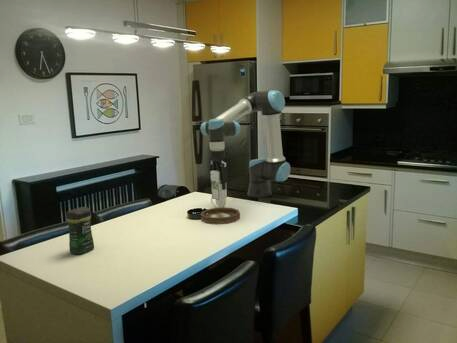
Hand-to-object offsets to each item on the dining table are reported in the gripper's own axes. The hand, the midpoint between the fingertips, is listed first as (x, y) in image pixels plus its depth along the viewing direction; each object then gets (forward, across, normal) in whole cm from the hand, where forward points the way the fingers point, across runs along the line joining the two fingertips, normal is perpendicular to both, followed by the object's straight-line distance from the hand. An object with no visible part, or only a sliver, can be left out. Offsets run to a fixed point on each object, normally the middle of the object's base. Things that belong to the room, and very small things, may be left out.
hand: (219, 194), depth 207 cm
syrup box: (+2, 0, 0) cm, 2 cm away
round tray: (+13, 0, 0) cm, 13 cm away
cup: (+13, -18, +11) cm, 25 cm away
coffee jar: (+13, 0, -70) cm, 71 cm away
